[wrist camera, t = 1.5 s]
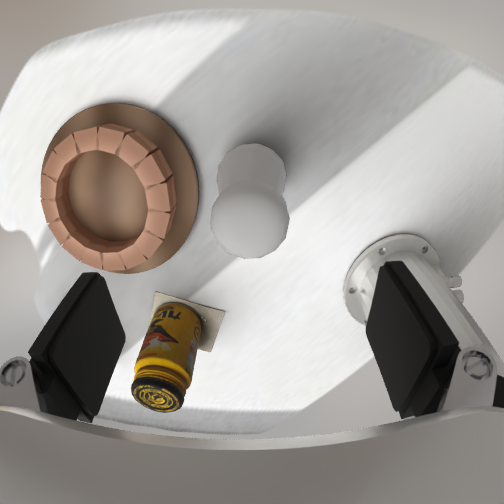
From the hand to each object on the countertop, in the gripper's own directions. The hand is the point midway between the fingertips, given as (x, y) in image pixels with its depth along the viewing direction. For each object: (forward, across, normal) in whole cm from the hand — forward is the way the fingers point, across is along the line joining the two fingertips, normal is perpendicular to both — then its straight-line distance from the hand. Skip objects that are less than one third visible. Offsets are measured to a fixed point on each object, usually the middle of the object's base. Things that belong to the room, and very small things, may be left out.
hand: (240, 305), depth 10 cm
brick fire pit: (+20, +14, +1) cm, 24 cm away
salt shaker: (+20, 0, 0) cm, 20 cm away
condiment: (+20, +9, +18) cm, 28 cm away
